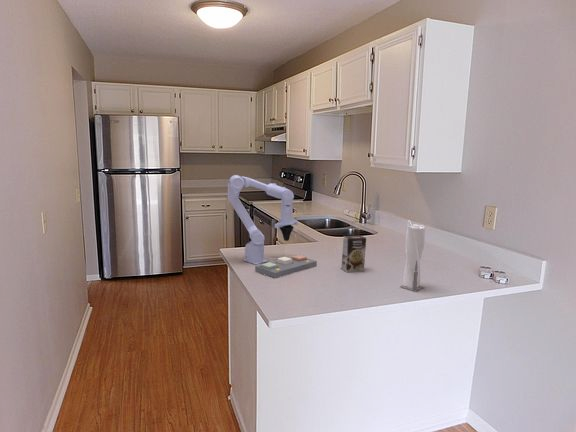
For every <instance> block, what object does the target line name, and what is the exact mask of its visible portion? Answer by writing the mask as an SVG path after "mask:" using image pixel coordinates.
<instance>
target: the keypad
mask: <svg viewBox="0 0 576 432" xmlns="http://www.w3.org/2000/svg"><path fill="white" fill-rule="evenodd" d="M288 258H291V259H292V256H290V257H288ZM269 262H270V261H269ZM270 263H273V264H276V265H277V268H274V269H271V270H268V269H265V268H262V267H261V264H257V265H255V266H254V267H255V269H254V271H256V273H258V272H259V274H261V273H262V275H264V274H265V275H264V276H267V275H268V277H270V276H271V277H270V278H273V277H274V278H273V279H277V277H278V278H281V277H285V276H288V275H290V274H294V273H297V272H301V271H305V270H308V269H311V268H314V267H317V265H318V261H317V260H315V259H310V258H309V257H306V260H304V261H300V262H299V261H296V260H292V264H289V265H285V266H284V265H281V264H278V263H277V260H275V261H271V262H270ZM287 274H288V275H287ZM284 275H285V276H284ZM280 276H281V277H280Z"/></svg>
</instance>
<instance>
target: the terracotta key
mask: <svg viewBox="0 0 576 432" xmlns="http://www.w3.org/2000/svg"><path fill="white" fill-rule="evenodd" d="M291 257H292V260H296V261H299V262H300V261H304V260H306V258H307V256H304V255H301V254H297V255H293V256H291Z"/></svg>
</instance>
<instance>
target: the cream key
mask: <svg viewBox="0 0 576 432" xmlns="http://www.w3.org/2000/svg"><path fill="white" fill-rule="evenodd" d="M276 261H277V263H278V264H281V265H284V266H285V265H289V264H292V259H291V258H289V257H287V256H282V257H278V258H277V259H276Z"/></svg>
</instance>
